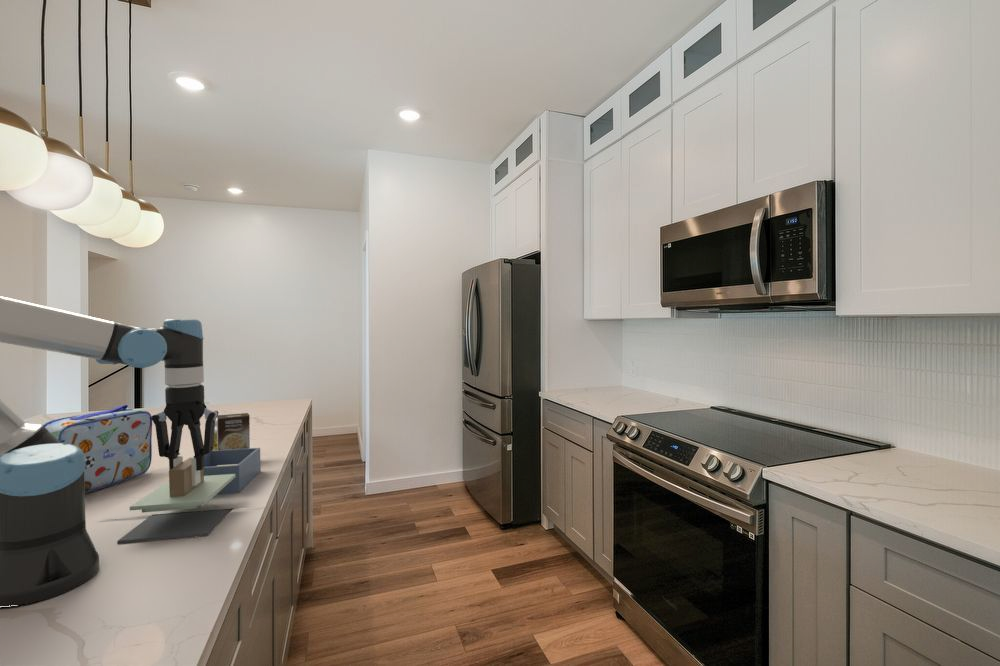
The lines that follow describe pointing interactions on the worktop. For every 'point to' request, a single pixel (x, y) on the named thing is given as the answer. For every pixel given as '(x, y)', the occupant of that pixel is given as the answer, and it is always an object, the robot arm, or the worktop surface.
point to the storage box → (233, 467)
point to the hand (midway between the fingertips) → (187, 484)
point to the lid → (183, 490)
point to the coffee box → (233, 431)
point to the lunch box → (108, 443)
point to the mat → (175, 526)
